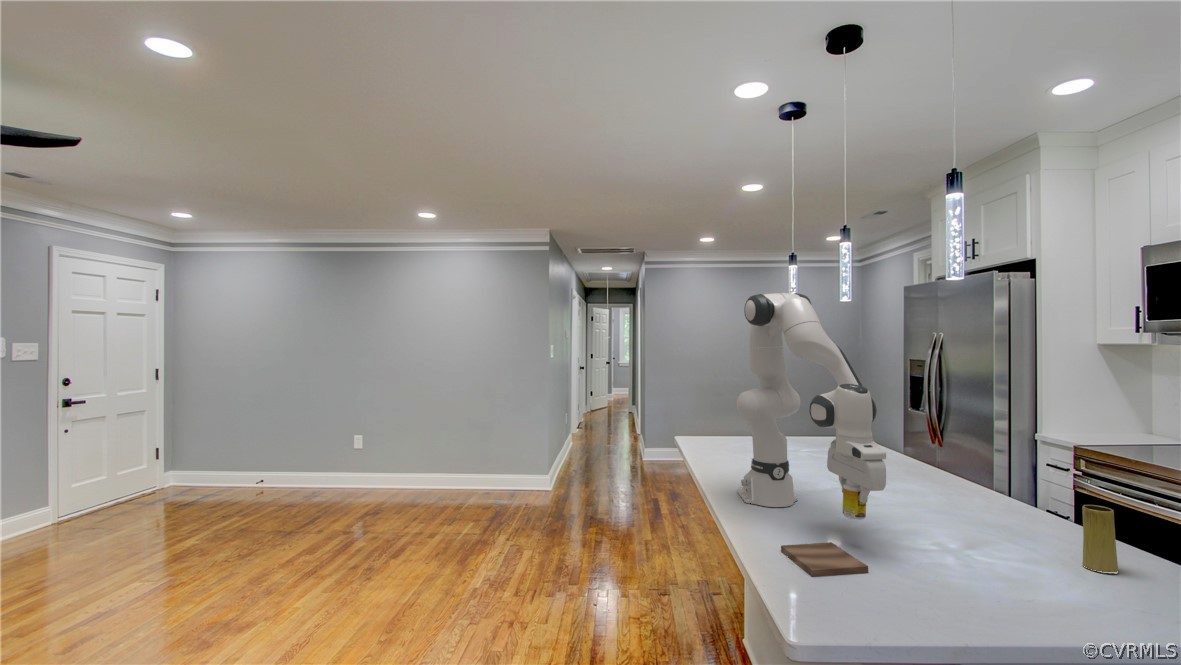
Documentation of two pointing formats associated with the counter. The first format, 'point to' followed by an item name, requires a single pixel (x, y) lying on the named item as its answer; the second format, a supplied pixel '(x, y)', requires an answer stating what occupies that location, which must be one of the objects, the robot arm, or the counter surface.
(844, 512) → the supplement bottle
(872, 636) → the counter surface
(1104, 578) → the counter surface
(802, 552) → the walnut board
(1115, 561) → the vase
